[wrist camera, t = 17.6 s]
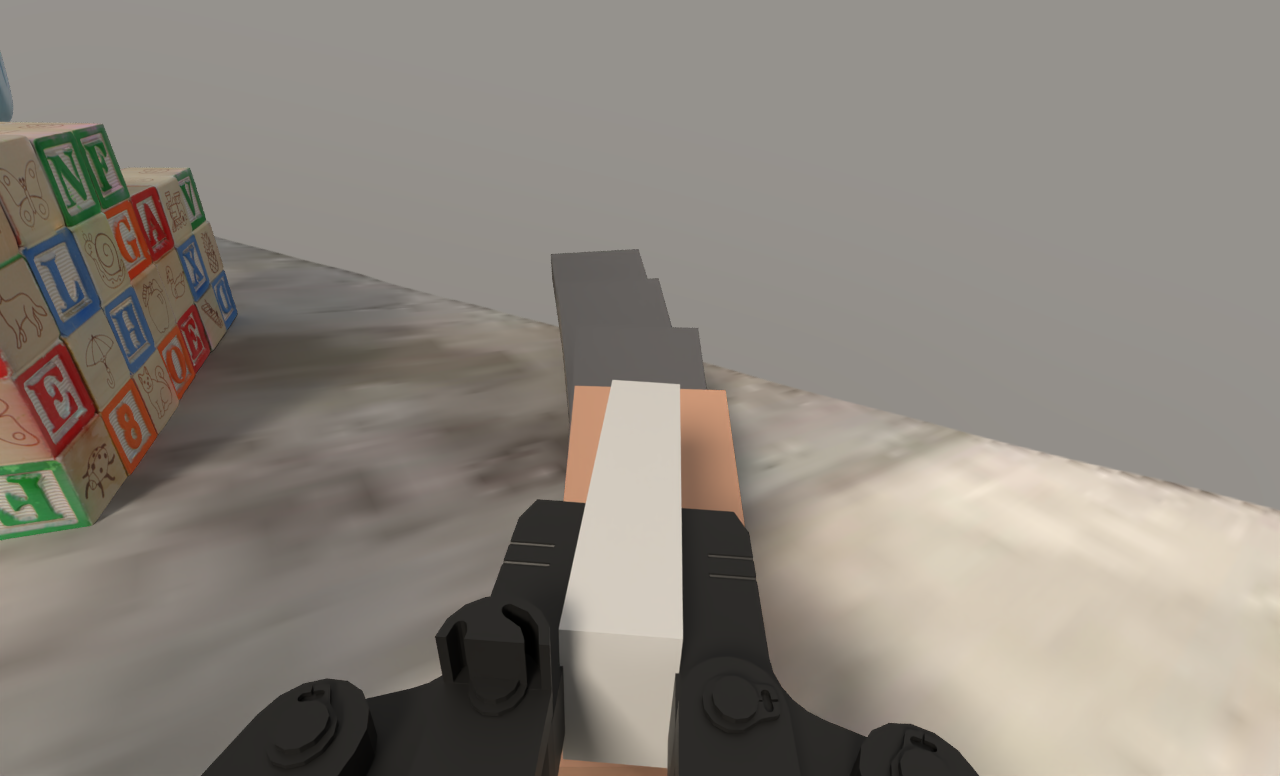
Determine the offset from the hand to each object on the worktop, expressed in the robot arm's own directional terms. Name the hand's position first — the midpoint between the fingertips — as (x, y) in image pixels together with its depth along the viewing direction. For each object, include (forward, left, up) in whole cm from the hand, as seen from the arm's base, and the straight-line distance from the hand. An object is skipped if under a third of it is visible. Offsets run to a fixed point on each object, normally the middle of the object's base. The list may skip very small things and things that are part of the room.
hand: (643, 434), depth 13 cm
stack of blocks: (-27, -10, -8) cm, 30 cm away
